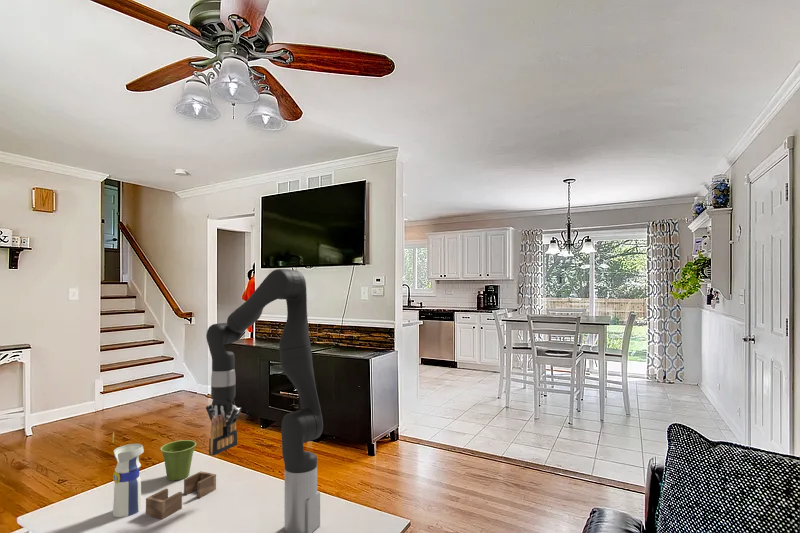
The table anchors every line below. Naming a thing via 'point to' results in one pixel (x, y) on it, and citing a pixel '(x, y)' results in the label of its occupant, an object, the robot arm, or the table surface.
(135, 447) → the water bottle
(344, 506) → the table surface
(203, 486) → the end cap
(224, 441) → the ammunition clip
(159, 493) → the end cap
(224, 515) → the table surface
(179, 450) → the plant pot
